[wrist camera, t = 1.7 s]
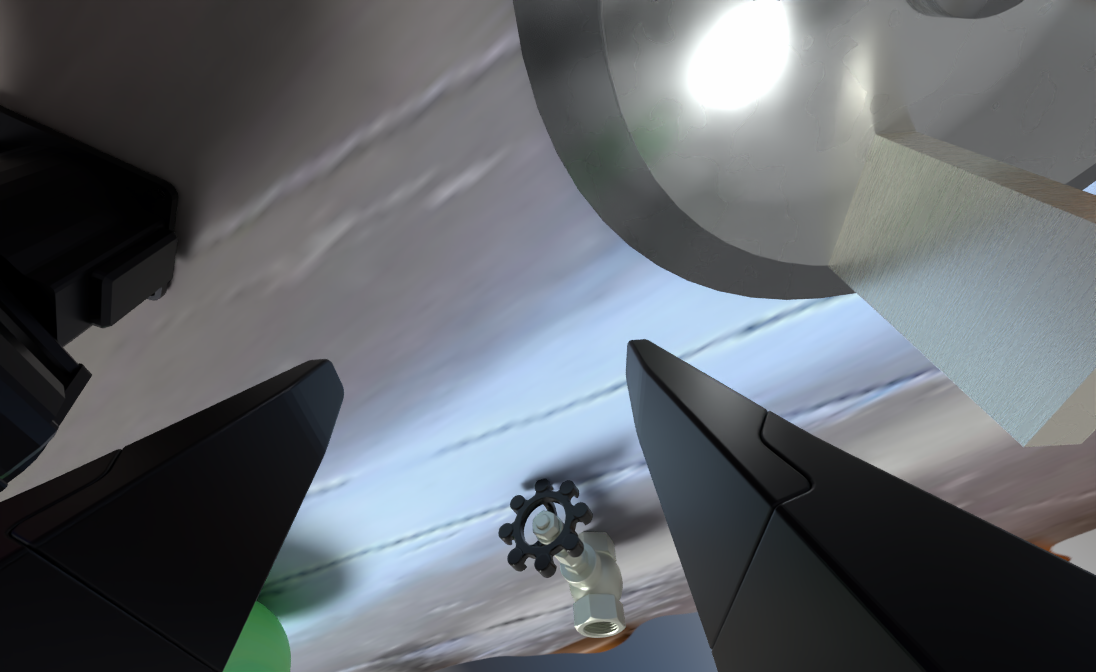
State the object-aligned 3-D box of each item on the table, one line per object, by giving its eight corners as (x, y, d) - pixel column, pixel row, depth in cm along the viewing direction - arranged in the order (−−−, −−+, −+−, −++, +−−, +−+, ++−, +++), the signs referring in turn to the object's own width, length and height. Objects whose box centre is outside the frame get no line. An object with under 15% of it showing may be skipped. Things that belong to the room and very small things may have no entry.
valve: (636, 543, 38) (583, 465, 32) (652, 630, 33) (592, 558, 26) (565, 560, 40) (500, 490, 33) (570, 646, 35) (494, 583, 28)
